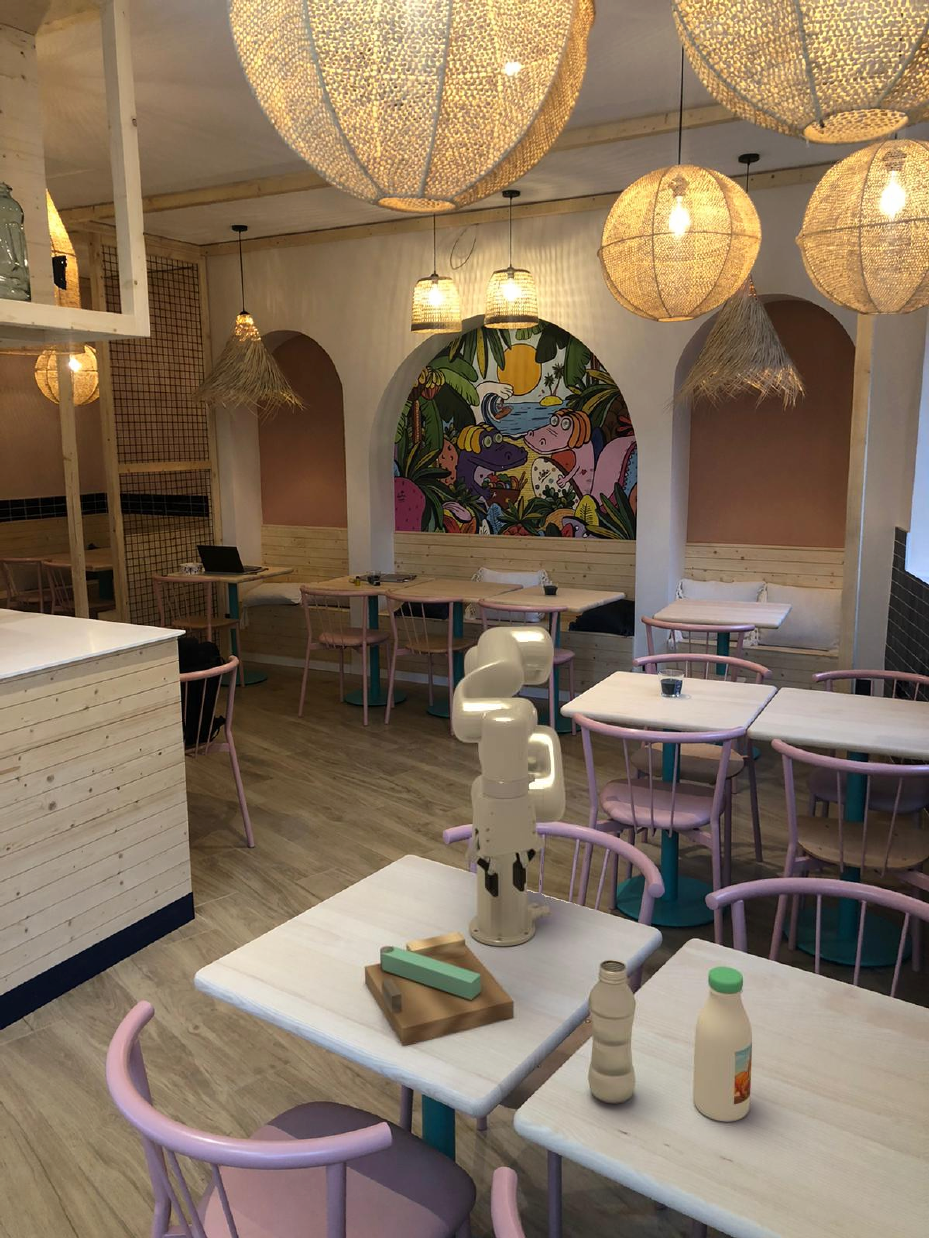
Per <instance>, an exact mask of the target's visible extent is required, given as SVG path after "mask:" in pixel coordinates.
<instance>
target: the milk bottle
mask: <svg viewBox="0 0 929 1238" xmlns="http://www.w3.org/2000/svg"><path fill="white" fill-rule="evenodd" d="M707 979H708V984H707V988H708V990H709V994H708V997H707V998H706V1000H705V1003H704V1005H703V1006H702V1008H701V1010H700V1011H699V1015H698V1017H697V1018H696V1019H697V1020H696V1026H695V1037H694V1051H693V1052H694V1056H693V1086H692V1090H693V1091H692V1099H693V1103H694V1105H695V1106H696V1109H697V1110H698V1111H699V1112H700V1113H701V1114H702V1115H704V1116H705V1117H707V1118H709V1119H712V1120H714V1121H717V1122H726V1123H727V1122H728V1123H729V1122H736V1121H739V1120H742V1119H743V1118H744V1117H745V1116H746V1115H747V1114H748V1112H749V1110H750V1105H751V1104H750V1102H751V1086H752V1084H751V1083H752V1059H753V1057H752V1055H753V1033H752V1026H751V1021H750V1018H749V1016H748V1014H747V1011H746V1010H745V1007H744V1004H743V1001H742V993H743V991H744V989H743V988H744V987H743V986H744V978H743V974H742V973H741V972H740V971H738V970H737V969H735V968H732V967H728V966H716V967H713V968H712V969H710V970H709V971H708V977H707Z"/></svg>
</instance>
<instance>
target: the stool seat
mask: <svg viewBox="0 0 929 1238" xmlns="http://www.w3.org/2000/svg"><path fill="white" fill-rule="evenodd" d="M405 945H406V949H405V950H406V951H410V952H413V953H416V954H419V955H422V956H425V957H428V958H431V959H434V960H437V961H441V962H444V963H447V964H450V965H453V966H456V967H459V968H462V969H465V970H469V971H472V972H475V973H478V974H481V992H480V993H478V994H477V995H476V996H475V997H474V998H473V999H472V1000H470V999H467V998H464V997H461V996H458V995H455V994H452V993H449V992H446V991H443V990H441V989H438V988H435V987H432V986H429V985H426V984H423V983H420V982H417V981H414V980H411V979H408V978H405V977H402V976H399V975H396V974H394V973H391V972H388V971H385V970H382V968H381V963H375V964H369V965H365V966H364V981H365V985H366V986H367V988H368V989H369V992H370V993H371V994H372V997H373V998H374V1000H375V1002H376V1004H377V1005H378V1006H379V1008H380V1010H381V1012H382V1013H383V1015H384V1016H385V1018H386V1020H387V1022H388V1024H389V1025H390V1027H391V1028H392V1030H393V1032H394V1033H395V1035H396V1037H397V1039H398V1040H399V1042H400V1043H401V1045H402V1047H406V1046H409V1045H412V1044H417V1043H420V1042H425V1041H429V1040H432V1039H435V1038H440V1037H444V1036H448V1035H452V1034H455V1033H459V1032H464V1031H468V1030H470V1029H471V1030H472V1029H474V1028H478V1027H483V1026H486V1025H490V1024H495V1023H498V1022H503V1021H506V1020H510V1019H514V1000H513V998H511V996H510V995H509V994H508V993H507V992H506V990H505V989H504V988H503V987H502V985H501V984H500V983H499V982H498V981H497V979H495V977H494V975H492V974H491V972H490V971H489V970H488V969H487V968H486V967H485V965H484V964H483V963H482V962H481V960H480V959H479V958H478V956H476V955H475V953H474V952H473V951H472V950H471V949H470V947H469V946H468V945H467V943H466V938H465V937H464V936H463V935H462V933H460V931H455V932H451V933H448V934H442V935H437V936H434V937H427V938H423V939H418V940H415V941H410V942H406V943H405Z"/></svg>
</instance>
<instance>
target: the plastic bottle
mask: <svg viewBox="0 0 929 1238" xmlns="http://www.w3.org/2000/svg"><path fill="white" fill-rule="evenodd" d="M597 978H598V979H599V980H598V981H597V983H596V984H595V985H594V986H593V987H592V988H591V990H590V993H589V996H588V1007H589V1009H588V1010H589V1015H590V1021H591V1034H592V1036H591V1037H592V1045H591V1046H592V1048H591V1058H590V1064H589V1068H588V1074H587V1080H588V1085H589V1090H590V1091H591V1093H592V1094H593V1095H594V1097H595V1098H596V1099H598V1100H599V1101H601V1102H604V1103H607V1104H614V1105H616V1104H621V1103H624V1102H627V1100H628V1099H630V1098H631V1097H632V1096H633V1094H634V1091H635V1087H636V1074H635V1068H634V1065H633V1054H632V1037H633V1036H632V1035H633V1025H634V1019H635V1012H636V1005H637V1003H636V1002H637V1001H636V999H635V995H634V993H633V991H632V990H631V988H630V986H629V985H628V984H627V981H628V976H627V965H626V963H624V962H622V961H620V960H617V959H606V960H603V961H601V962H600V964H599V972H598V977H597Z"/></svg>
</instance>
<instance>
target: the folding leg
mask: <svg viewBox="0 0 929 1238" xmlns="http://www.w3.org/2000/svg"><path fill="white" fill-rule="evenodd" d="M379 955H380V958H379V960H380V963H381V968H382V970H385V971H388V972H391V973H394V974H396V975H399V976H402V977H405V978H408V979H411V980H414V981H417V982H420V983H423V984H426V985H429V986H432V987H435V988H438V989H441V990H443V991H446V992H449V993H452V994H455V995H458V996H461V997H464V998H467V999H470V1000H472V999H473V998H474V997H475V996H476V995H477V994H478V993H480V992H481V974H478V973H475V972H472V971H469V970H465V969H462V968H459V967H456V966H453V965H450V964H447V963H444V962H441V961H437V960H434V959H431V958H428V957H425V956H422V955H419V954H416V953H413V952H410V951H406V949H402V948H401V947H398V946H397V947H396V946H393V945H392V946H391V945H385V946H382V947H381V948H380V949H379Z"/></svg>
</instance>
